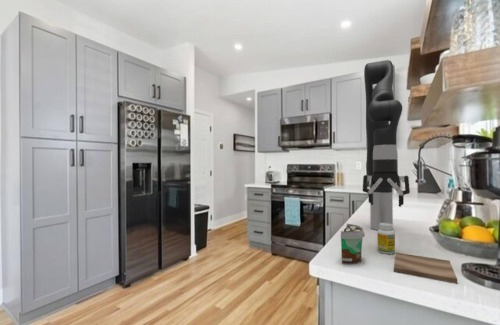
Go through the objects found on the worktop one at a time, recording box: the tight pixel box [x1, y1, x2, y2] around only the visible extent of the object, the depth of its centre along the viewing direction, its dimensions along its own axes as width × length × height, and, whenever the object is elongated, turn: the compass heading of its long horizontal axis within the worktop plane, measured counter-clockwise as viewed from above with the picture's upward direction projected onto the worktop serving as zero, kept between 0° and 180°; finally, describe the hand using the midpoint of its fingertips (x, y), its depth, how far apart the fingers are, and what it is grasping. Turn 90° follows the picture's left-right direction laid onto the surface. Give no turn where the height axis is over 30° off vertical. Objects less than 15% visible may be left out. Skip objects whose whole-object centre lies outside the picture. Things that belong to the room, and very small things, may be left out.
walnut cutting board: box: [393, 252, 458, 284], centre depth 74 cm, size 14×14×1 cm
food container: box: [340, 223, 366, 265], centre depth 81 cm, size 12×6×10 cm, turn 151°
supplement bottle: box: [376, 223, 396, 255], centre depth 88 cm, size 5×5×10 cm
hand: (385, 205), depth 88 cm, fingers open, 8 cm apart
